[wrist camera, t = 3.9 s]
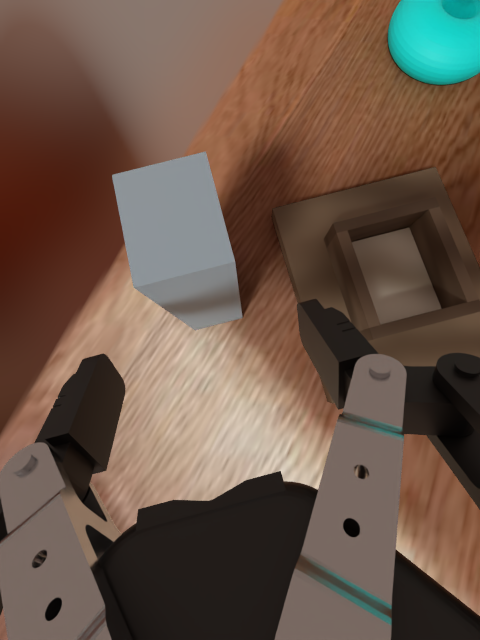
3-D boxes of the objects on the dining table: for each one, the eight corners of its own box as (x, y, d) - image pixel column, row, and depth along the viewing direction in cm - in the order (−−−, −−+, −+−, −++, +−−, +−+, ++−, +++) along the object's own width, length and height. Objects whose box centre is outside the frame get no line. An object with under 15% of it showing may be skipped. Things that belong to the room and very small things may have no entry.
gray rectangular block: (242, 317, 22) (235, 261, 10) (194, 330, 22) (133, 287, 10) (227, 261, 23) (205, 151, 11) (182, 273, 23) (111, 175, 11)
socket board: (502, 355, 21) (555, 352, 17) (327, 401, 21) (344, 408, 17) (426, 176, 24) (458, 142, 20) (271, 216, 24) (275, 188, 20)
